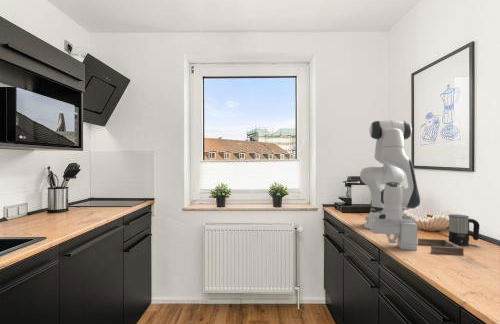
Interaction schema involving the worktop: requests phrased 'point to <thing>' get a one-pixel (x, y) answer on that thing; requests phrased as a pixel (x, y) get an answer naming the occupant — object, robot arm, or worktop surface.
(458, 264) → the worktop surface
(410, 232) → the supplement box
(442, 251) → the walnut corral
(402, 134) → the robot arm
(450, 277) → the worktop surface
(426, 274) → the worktop surface
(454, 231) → the milk frother
